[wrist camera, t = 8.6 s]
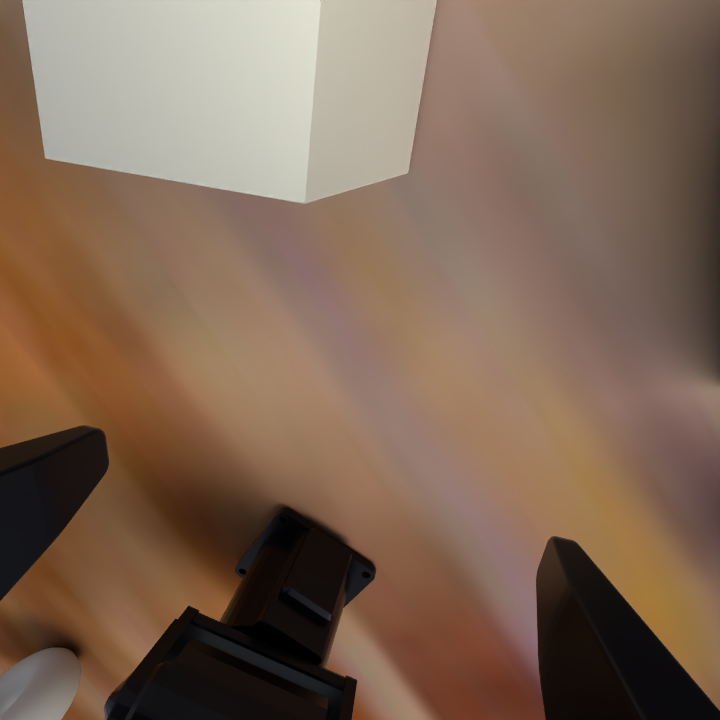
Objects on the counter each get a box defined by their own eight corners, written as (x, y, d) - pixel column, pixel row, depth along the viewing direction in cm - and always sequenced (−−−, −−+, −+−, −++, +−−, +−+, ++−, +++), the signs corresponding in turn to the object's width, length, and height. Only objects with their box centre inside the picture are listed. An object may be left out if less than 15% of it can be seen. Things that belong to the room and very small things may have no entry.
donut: (89, 627, 36) (-40, 785, 27) (116, 658, 37) (0, 821, 28) (13, 645, 39) (-122, 789, 31) (40, 672, 40) (-84, 820, 31)
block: (408, 173, 18) (304, 203, 7) (295, 155, 18) (45, 158, 8) (447, -64, 15) (371, -639, 4) (311, -75, 15) (-63, -594, 5)
